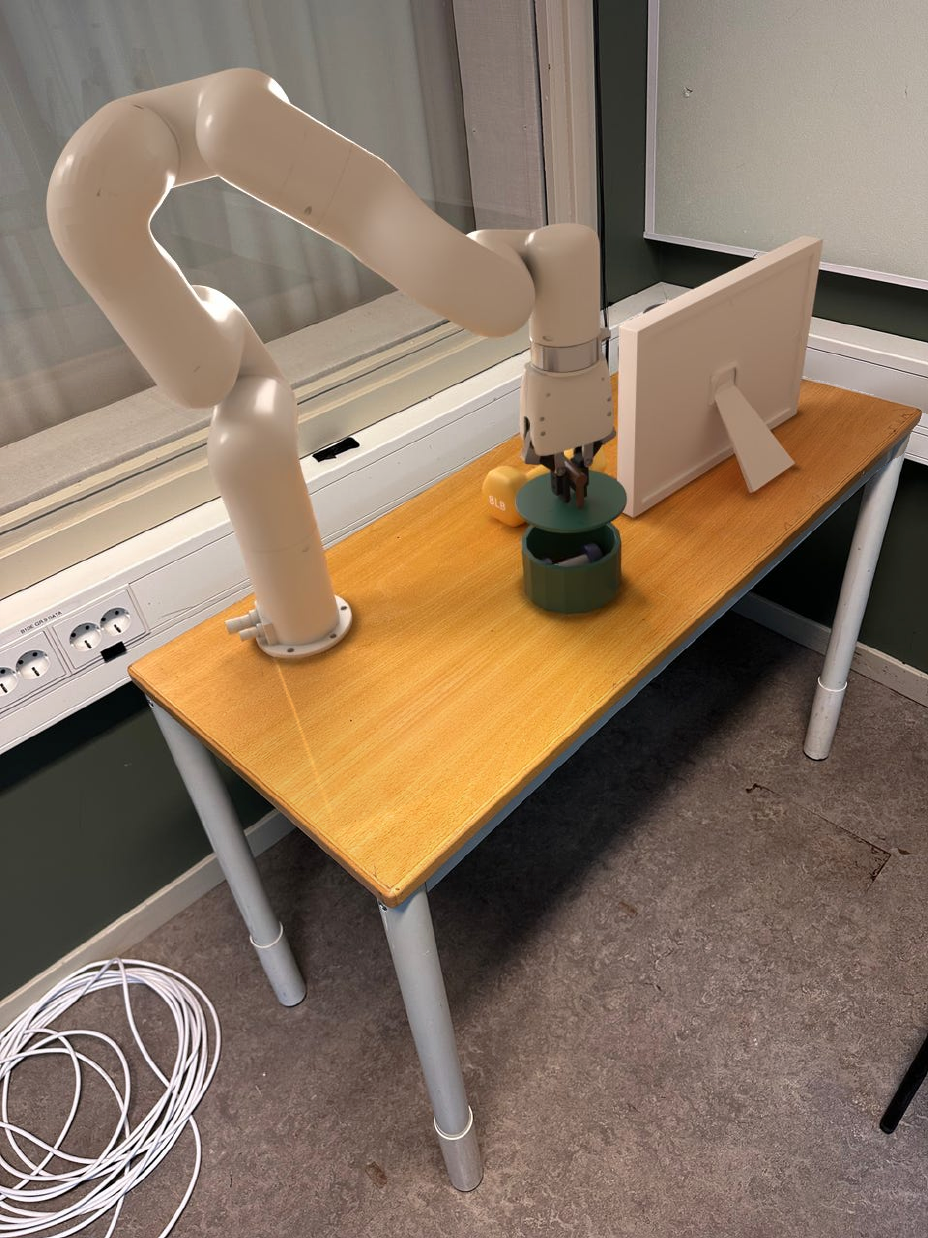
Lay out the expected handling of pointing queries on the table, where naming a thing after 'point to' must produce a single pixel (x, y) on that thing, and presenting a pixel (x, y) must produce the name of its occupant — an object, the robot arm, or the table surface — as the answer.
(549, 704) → the table surface
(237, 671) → the table surface
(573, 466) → the lid
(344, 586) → the table surface
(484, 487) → the dumbbell
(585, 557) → the toy dumbbell
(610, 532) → the pot
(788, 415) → the picture frame
